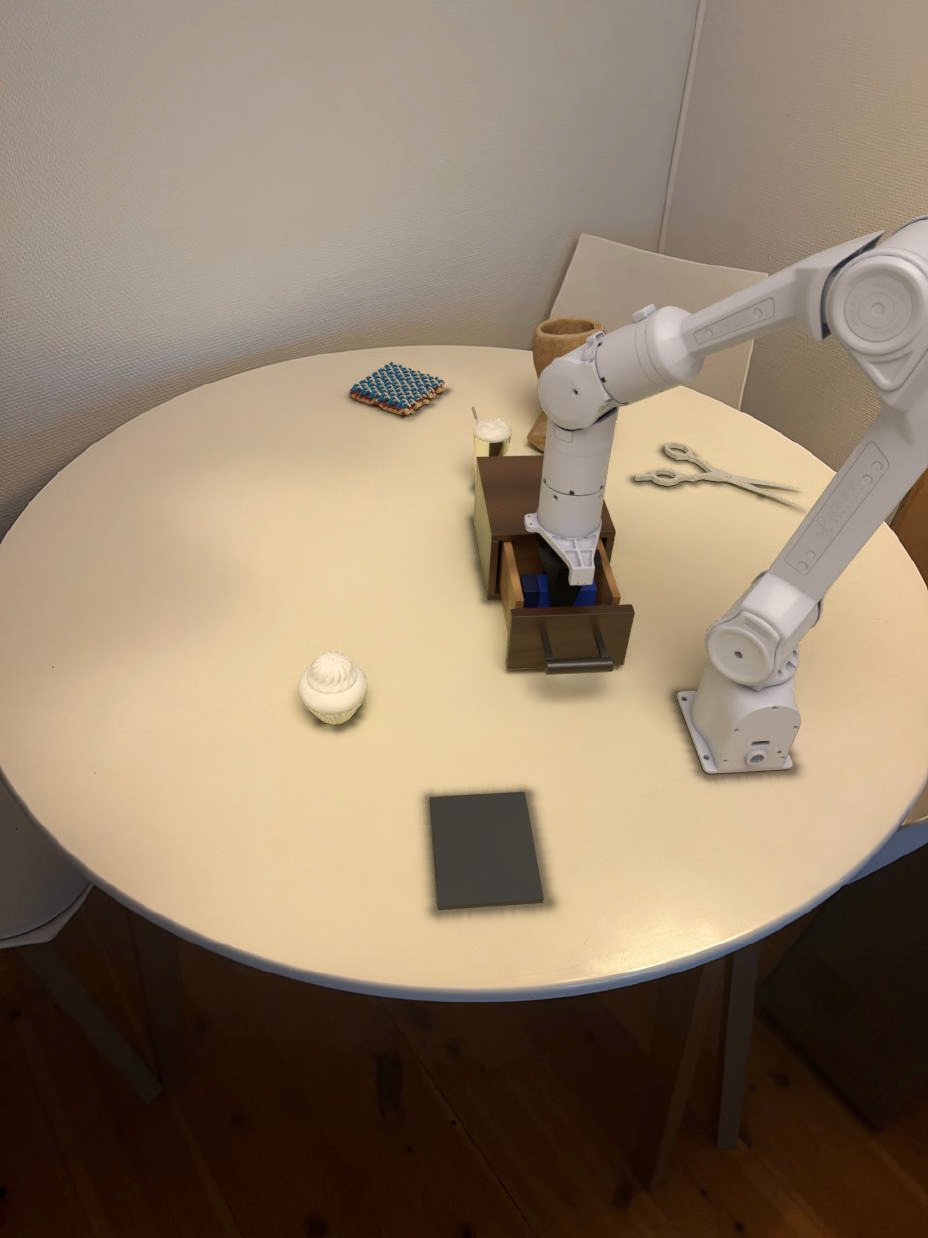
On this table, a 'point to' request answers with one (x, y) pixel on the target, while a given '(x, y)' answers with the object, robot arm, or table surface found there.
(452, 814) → the desk pad
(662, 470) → the scissors
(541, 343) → the stone cup
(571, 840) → the table surface
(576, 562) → the robot arm
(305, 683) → the muffin
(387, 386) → the woven mat
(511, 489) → the cabinet
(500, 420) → the milkshake
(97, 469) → the table surface
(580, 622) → the drawer
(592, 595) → the block
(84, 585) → the table surface
